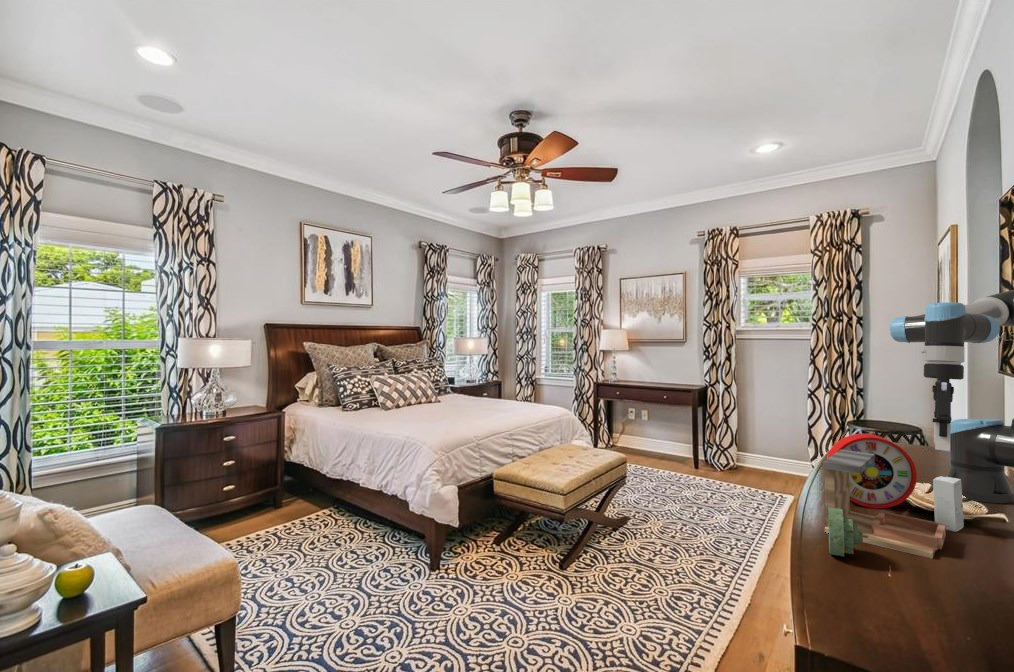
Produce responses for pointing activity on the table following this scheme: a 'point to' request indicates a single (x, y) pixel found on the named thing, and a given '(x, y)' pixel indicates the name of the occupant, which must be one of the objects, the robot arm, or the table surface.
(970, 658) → the table surface
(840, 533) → the decorative artifact
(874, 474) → the toy clock
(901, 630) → the table surface
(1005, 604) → the table surface
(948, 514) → the skincare box
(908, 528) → the awning stand
